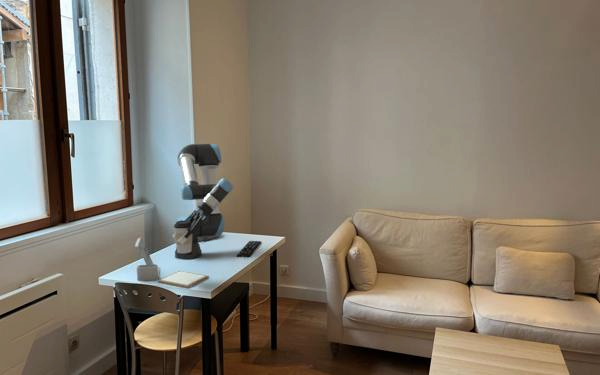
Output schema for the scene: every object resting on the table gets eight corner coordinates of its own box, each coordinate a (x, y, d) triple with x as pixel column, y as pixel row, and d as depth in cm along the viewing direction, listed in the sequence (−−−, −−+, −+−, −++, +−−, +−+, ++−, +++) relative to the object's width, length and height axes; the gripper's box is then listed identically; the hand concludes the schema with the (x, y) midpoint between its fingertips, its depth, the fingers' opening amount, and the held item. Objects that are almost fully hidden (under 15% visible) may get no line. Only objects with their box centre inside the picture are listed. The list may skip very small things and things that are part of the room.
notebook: (157, 282, 217) (157, 280, 217) (179, 272, 231) (179, 270, 231) (187, 288, 209) (187, 285, 209) (208, 277, 224) (208, 275, 224)
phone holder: (158, 279, 221) (156, 243, 219) (136, 280, 219) (134, 245, 216) (160, 268, 238) (158, 235, 235) (139, 269, 236) (138, 236, 233)
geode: (205, 243, 287) (203, 228, 286) (191, 243, 292) (188, 229, 291) (223, 235, 306) (220, 220, 305) (208, 235, 311) (206, 221, 309)
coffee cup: (176, 254, 213) (175, 223, 211) (172, 250, 221) (171, 220, 219) (195, 252, 217) (194, 222, 215) (191, 247, 225) (190, 218, 223)
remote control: (236, 257, 259) (236, 254, 258) (249, 243, 290) (249, 240, 290) (249, 258, 258) (249, 255, 257) (261, 243, 289) (261, 240, 289)
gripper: (221, 213, 215) (189, 250, 209) (206, 206, 233) (176, 240, 228) (210, 203, 211) (177, 241, 206) (196, 197, 230) (165, 231, 224)
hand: (177, 240), depth 217 cm, fingers closed on coffee cup, 9 cm apart
